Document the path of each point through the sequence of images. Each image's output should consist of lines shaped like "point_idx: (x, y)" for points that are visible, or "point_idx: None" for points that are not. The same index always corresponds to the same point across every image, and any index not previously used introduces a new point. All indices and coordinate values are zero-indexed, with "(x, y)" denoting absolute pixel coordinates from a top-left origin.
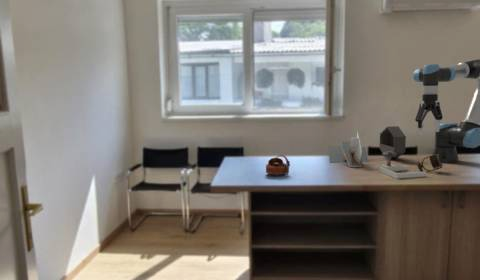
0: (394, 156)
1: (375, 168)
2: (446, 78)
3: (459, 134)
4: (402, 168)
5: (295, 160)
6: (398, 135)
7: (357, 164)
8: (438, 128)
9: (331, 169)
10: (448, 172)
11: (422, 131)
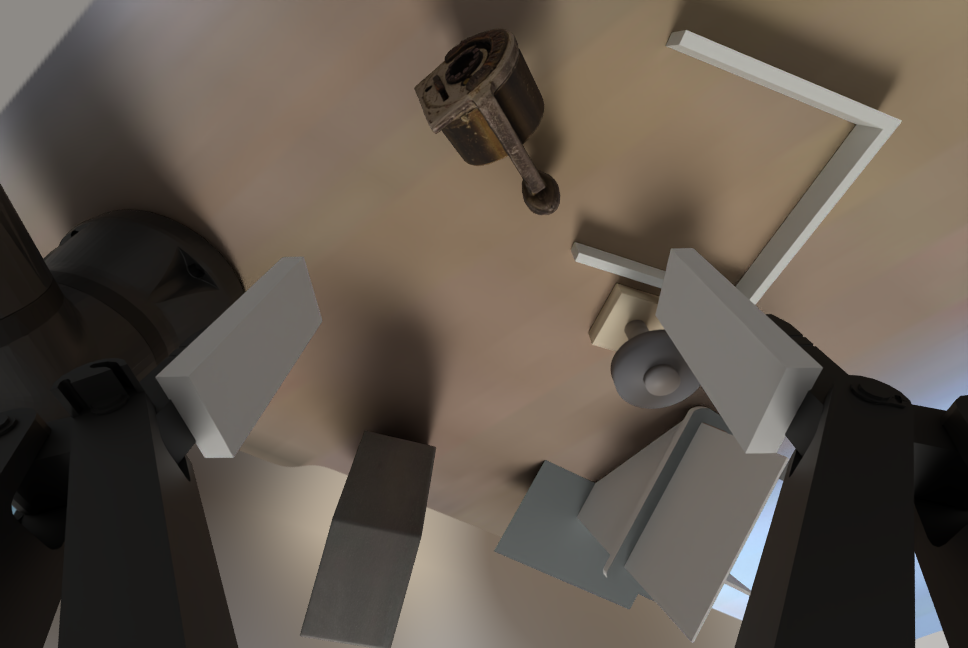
0: (661, 331)
1: None
2: None
3: None
4: (611, 258)
5: (755, 573)
6: (379, 543)
7: (710, 424)
8: (276, 281)
9: None
10: (407, 29)
11: (713, 267)
